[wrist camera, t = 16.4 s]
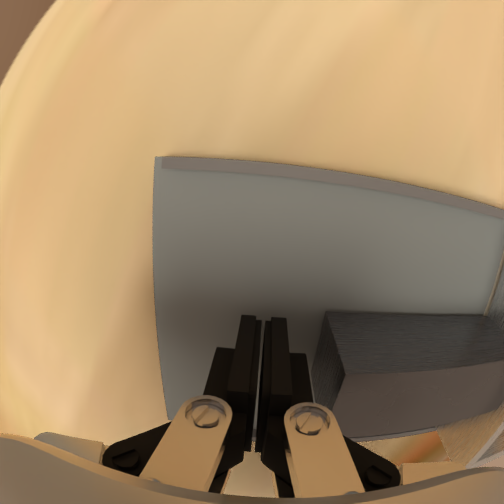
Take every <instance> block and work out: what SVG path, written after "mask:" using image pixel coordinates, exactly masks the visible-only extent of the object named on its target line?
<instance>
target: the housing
mask: <svg viewBox="0 0 504 504" xmlns="http://www.w3.org/2000/svg"><path fill="white" fill-rule="evenodd" d="M311 378H312V385H313V391H314V398H315V403H317V404H320V405H322V406H325V407H327V408H328V409H329V410H330V411H331V412H332V413H333V415H334V416H335V418H336V421H337V423H338V426H339V428H340V430H341V433H342V435H344V436H346V437H347V438H348V437H363V436H374V435H384V434H392V433H399V432H406V431H412V430H418V429H424V428H429V427H434V426H435V428H436V430H437V432H438V435H439V437H440V439H441V441H442V443H443V445H444V447H445V450H446V452H447V454H448V456H449V458H450V461H455V462H459V463H461V464H463V465H464V467H465V468H466V469H471V468H476V467H479V466H481V465H483V464H485V463H488V462H490V461H492V460H494V459H496V458H498V457H500V456H502V455H504V266H503V270H502V273H501V276H500V280H499V283H498V286H497V289H496V292H495V295H494V298H493V301H492V304H491V307H490V309H489V312H488V315H487V316H415V315H385V314H363V313H346V312H330V311H325V316H324V320H323V324H322V329H321V333H320V337H319V341H318V345H317V349H316V353H315V357H314V361H313V365H312V369H311Z"/></svg>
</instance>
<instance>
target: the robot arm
mask: <svg viewBox="0 0 504 504" xmlns="http://www.w3.org/2000/svg"><path fill="white" fill-rule="evenodd" d="M261 326H262V320H256V316H254V315H241V320H240V325H239V330H238V335H237V340H236V346H235V349H234V348H224V347H217V348H216V350H215V354H214V357H213V361H212V364H211V368H210V371H209V375H208V378H207V382H206V385H205V389H204V393H203V395H201V396H196V397H192V398H190V399H188V400H187V401H185V402H184V403H183V404H182V406H181V407H180V409H179V410H178V412H177V414H176V416H175V417H174V419H173V421H171V422H169V423H166V424H164V425H162V426H159V427H157V428H154V429H152V430H149V431H146V432H144V433H141V434H139V435H136V436H133V437H130V438H128V439H125V440H122V441H119V442H116V443H114V444H112V445H110V446H106V445H104V444H103V442H98V441H92V440H86V439H80V438H75V437H70V436H65V435H60V434H56V433H50V432H45V433H41V434H39V435H38V436H36V437H35V438H34V439H32V438H28V437H24V436H19V435H13V434H3V433H0V504H504V468H501V467H479V468H471V469H466V468H465V467H464V465H463V464H461V463H459V462H455V461H447V462H432V463H402V464H401V466H395V465H394V464H393V463H391V462H390V461H388V460H386V459H384V458H382V457H381V456H379V455H377V454H375V453H373V452H372V451H370V450H368V449H366V448H364V447H363V446H361V445H359V444H357V443H356V442H354V441H352V440H351V439H349V438H347V437H346V436H344V435H342V433H341V430H340V428H339V426H338V423H337V421H336V418H335V416H334V415H333V413H332V412H331V411H330V410H329V409H328V408H327V407H325V406H322V405H320V404H317V403H314V402H313V395H312V388H311V382H310V375H309V369H308V362H307V356H306V354H305V353H290V352H289V340H288V329H287V319H286V318H281V317H271V321H268V320H265V330H264V340H263V350H262V360H261V370H260V381H259V397H258V412H257V427H256V442H255V452H261V461H262V463H263V464H264V465H266V466H267V467H268V468H269V469H270V470H272V481H273V487H274V493H275V498H264V497H247V496H235V495H226V494H223V492H224V490H225V487H226V484H227V481H228V478H229V476H230V473H231V468H232V467H234V466H235V465H237V464H239V463H240V462H242V461H243V456H244V451H249V452H251V444H252V435H253V425H254V416H255V407H256V397H257V385H258V371H259V356H260V341H261Z"/></svg>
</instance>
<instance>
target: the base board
mask: <svg viewBox="0 0 504 504" xmlns="http://www.w3.org/2000/svg"><path fill="white" fill-rule="evenodd" d="M503 266H504V210H502V209H499V208H496V207H493V206H490V205H487V204H483V203H480V202H476V201H473V200H469V199H466V198H462V197H459V196H455V195H451V194H447V193H443V192H439V191H435V190H431V189H427V188H423V187H418V186H414V185H409V184H405V183H400V182H395V181H390V180H385V179H380V178H375V177H369V176H363V175H358V174H352V173H346V172H339V171H333V170H326V169H319V168H311V167H304V166H296V165H287V164H278V163H268V162H257V161H245V160H232V159H216V158H195V157H155V166H154V187H153V276H154V298H155V313H156V327H157V338H158V348H159V358H160V367H161V375H162V382H163V390H164V397H165V403H166V410H167V416H168V420H172V421H173V419H174V417H175V416H176V414H177V412H178V410H179V409H180V407H181V406H182V404H183V403H184V402H185V401H187V400H188V399H190V398H192V397H196V396H201V395H203V393H204V389H205V385H206V382H207V378H208V375H209V371H210V368H211V364H212V361H213V357H214V354H215V350H216V348H217V347H224V348H234V349H235V346H236V340H237V335H238V330H239V325H240V320H241V315H254V316H256V320H262V326H261V341H260V356H259V371H258V385H257V397H256V407H255V416H254V425H253V435H252V441H256V427H257V412H258V397H259V381H260V370H261V360H262V350H263V340H264V330H265V320H268V321H271V317H281V318H286V319H287V329H288V340H289V352H290V353H305V354H306V356H307V362H308V369H309V375H310V382H311V388H312V395H313V402H314V403H315V398H314V391H313V385H312V378H311V369H312V365H313V361H314V357H315V353H316V349H317V345H318V341H319V337H320V333H321V329H322V324H323V320H324V316H325V311H330V312H346V313H363V314H385V315H415V316H487V315H488V312H489V309H490V307H491V304H492V301H493V298H494V295H495V292H496V289H497V286H498V283H499V280H500V276H501V273H502V270H503ZM432 431H436V428H435V426H434V427H429V428H424V429H418V430H412V431H406V432H399V433H392V434H384V435H374V436H363V437H348V438H349V439H351V440H352V441H354V442H363V441H373V440H383V439H390V438H398V437H404V436H410V435H416V434H422V433H427V432H432Z"/></svg>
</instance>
